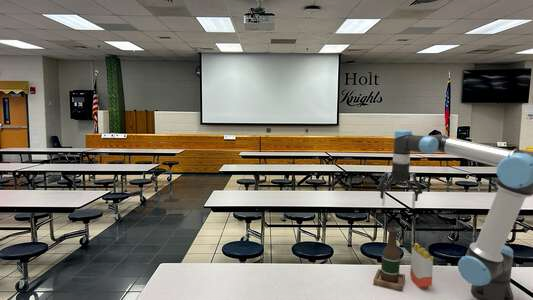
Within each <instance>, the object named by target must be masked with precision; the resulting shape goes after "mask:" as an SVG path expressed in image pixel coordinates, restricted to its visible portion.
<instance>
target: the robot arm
mask: <svg viewBox="0 0 533 300" xmlns="http://www.w3.org/2000/svg"><path fill="white" fill-rule="evenodd" d="M411 152H415V153H422V154H432V155H434V154H435V153H436V152H437V153H443V154H447V155H450V156H451V155H452V156H455V157H460V158H462V159H465V160H469V161H473V162H477V163H482V164H485V165H490V166H493V167H496V176H497V178H496V181H495V185H496V187H497V191H496V194H495V196H494V198H493V201H492V203H491V206H490V209H489V210H488V213H487V216H486V217H485V220H484V223H483V225H482V227H481V229H480V232H479V234H478V236H477V239H476V241H475V242H472V243H470V244H469V247H468V249H467V251H466V254H465V256H464V255H463V256H462V257H461V258H460V259H459V260H458V263H457V268H458V269H457V270H458V272H459V273H460V275H461V277H462V279H464V280H465V281H466V282H467V283H469V284H470V285H471V286H470V293H471V295H472V296H473V297H474V298H476V299H477V300H514V294H513V290H512V286H511V277H512V268H513V259H514V250H513V249H512V248H511V247H510V246H508V245H506V242H507V240H508V238H509V237H510V234H511V231H512V229H513V227H514V224H515V222H516V220H517V218H518V216H519V214H520V211H521V209H522V207H523V204H524V203H525V200H526V199H527V198H529V197H533V151H532V150H524V149H519V148H515V149H513V150H510V149H506V148H501V147H496V146H493V145H487V144H482V143H477V142H472V141H470V140H469V141H468V140H463V139H461V138H456V137H455V138H454V137H450V136H448V135H447V134H434V135H417V134H416V135H414V134H413V132H412V130H410V129H396V130H395V131H394V136H393V152H392V164H391V165H392V167H391V168H392V169H391V172H388V171H384V176H383V177H382V179H381V181H380V182H379V184H378V186H377V187H376V190H377V192H380V194H379V195H380V196H379V197H380V199H381V200H382V203H381V205H382V206H383V207H385V203H386V202H385V201H386V192H385V191H386V190H387V189H388V188H390V186H391V185H393V183H395V182H396V183H406V184H407V185H408V187H409V188H410V189H411V190H412V192H413V193H412V202H411V207H412V209H416V202H418V199H419V195H420V194H423V190H422V188H421V186H420V183H419V181H418V179H417V174H416V173H415V172H413V173H410V162H411ZM388 177H392V178H391V179H390V180H389V181H388V182H386V181H387V180H388ZM410 177H411V179H412V180H413V182H414V184H415V186H416V189H417V190H416V189H415V187H414V186H413V184H412V183H411V182H410V181H409V180H408V179H409V178H410ZM385 183H386V184H385Z"/></svg>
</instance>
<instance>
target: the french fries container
mask: <svg viewBox="0 0 533 300" xmlns="http://www.w3.org/2000/svg"><path fill="white" fill-rule="evenodd" d="M433 265H434V256H432V255H431V256H430V253H429V252H428V251H426V248H425V247H421V245H419V243H417V242H416V243H415V242H414V245H413V247H412V248H411V260H410V269H409V271H410V273H409V274H410V278H411V281H412V283H413V284H414V285H415V286H416V287H417V288H419V289H420V288H423V289H425V288H430V287H431V286H433V285H432V284H433V270H434V269H433V268H434V267H433Z"/></svg>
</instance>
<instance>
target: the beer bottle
mask: <svg viewBox="0 0 533 300" xmlns="http://www.w3.org/2000/svg"><path fill="white" fill-rule="evenodd" d="M397 233H398V230H397V228H393V227H392V228H391V227H390V228H389V229H388V236H387V237H388V238H387V244H386V246H385V247H384V248H383V251H382V255H381V267H380V269H381V279H382V280H383V281H387V282H391V283H395V284H396V283H397V282H398V280H399V273H400V267H401V266H400V264H401V252H400V249H399V248H398V246H397Z"/></svg>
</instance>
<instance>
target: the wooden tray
mask: <svg viewBox="0 0 533 300" xmlns="http://www.w3.org/2000/svg"><path fill="white" fill-rule="evenodd" d="M405 281H406V274H404V273H400V272H399V280H398V282H397V283H396V284H395V283H391V282H387V281H383V280H382V279H381V268H377V271H376V273H375V276H374V277H373V283H372V285H373V286H378V287H380V288H385V289H389V290H394V291H397V292H401V293H402V292H403V289H404V285H405Z"/></svg>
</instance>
